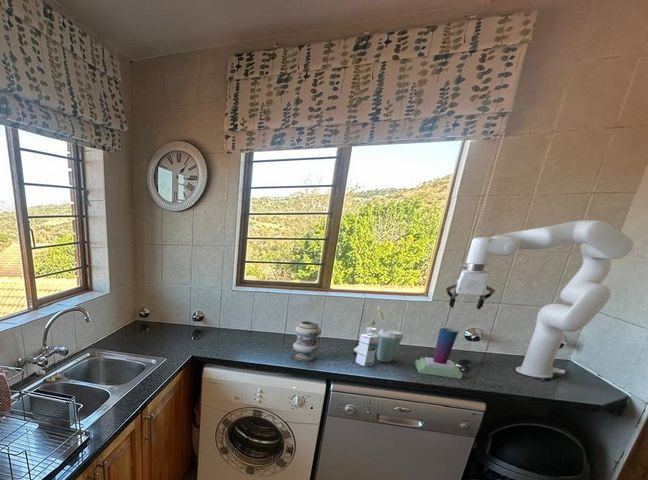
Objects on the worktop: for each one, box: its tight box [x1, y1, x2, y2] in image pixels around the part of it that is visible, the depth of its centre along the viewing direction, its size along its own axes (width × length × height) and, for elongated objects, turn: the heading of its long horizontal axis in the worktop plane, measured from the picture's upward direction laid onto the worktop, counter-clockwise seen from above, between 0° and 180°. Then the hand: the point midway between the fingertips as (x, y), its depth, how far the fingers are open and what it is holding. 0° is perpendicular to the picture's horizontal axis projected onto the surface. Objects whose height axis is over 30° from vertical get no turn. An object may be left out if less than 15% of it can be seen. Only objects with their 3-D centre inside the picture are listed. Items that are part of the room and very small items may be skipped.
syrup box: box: [355, 333, 380, 367], centre depth 190 cm, size 6×6×14 cm
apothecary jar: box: [292, 320, 322, 362], centre depth 197 cm, size 12×12×18 cm
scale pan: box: [424, 356, 455, 369], centre depth 183 cm, size 10×10×2 cm
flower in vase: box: [353, 305, 385, 356], centre depth 202 cm, size 13×11×25 cm
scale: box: [414, 357, 464, 380], centre depth 184 cm, size 16×14×4 cm
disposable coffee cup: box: [376, 328, 404, 363], centre depth 195 cm, size 11×11×15 cm
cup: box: [433, 327, 459, 364], centre depth 180 cm, size 7×7×15 cm
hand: (464, 307), depth 177 cm, fingers open, 9 cm apart
